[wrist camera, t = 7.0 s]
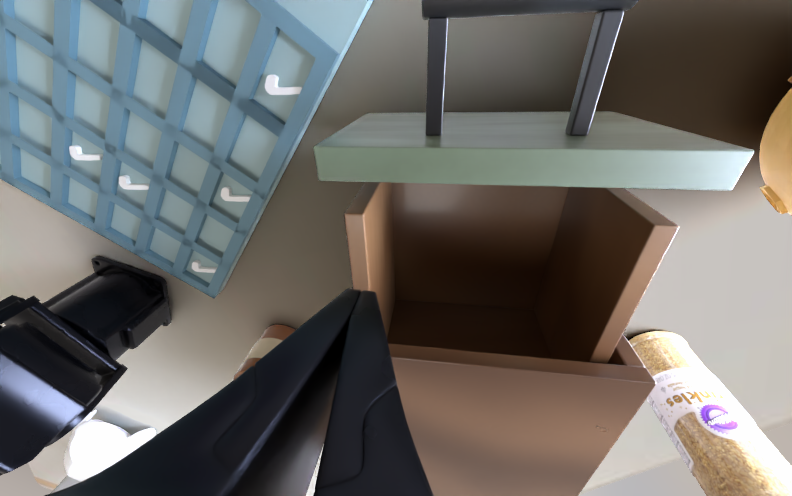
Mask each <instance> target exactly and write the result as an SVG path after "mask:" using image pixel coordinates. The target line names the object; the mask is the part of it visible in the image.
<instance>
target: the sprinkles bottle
mask: <svg viewBox="0 0 792 496" xmlns="http://www.w3.org/2000/svg"><path fill="white" fill-rule="evenodd" d="M628 342H629V343H630V345H631V346H632V348H633V349H634V351H635V352H636V354H637V355H638V357H639V358H640V360H641V361H642V363H643V364H644V366H645V368H647V370H648V371H649V373H650V374H651V376H652V377H653V379H654V380H655V382H656V385H655V387H654V388H653V390H652V391H651V392H650V394H649V395H648V397H647V398H646V399H647V400H648V402H649V404H650V405H651V407H652V409H653V410H654V412H655V414H656V415H657V417H658V418H659V420H660V422H661V423H662V425H663V427H664V428H665V430H666V432H667V433H668V435H669V437H670V438H671V440H672V441H673V443H674V445H675V446H676V448H677V450H678V451H679V453H680V455H681V456H682V458H683V460H684V461H685V463H686V465H687V466H688V468H689V470H690V471H691V473H692V474H693V476H694V477H696V479H697V481H698V483H699V484H700V486H701V488H702V489H703V490H704V492H705V494H706V495H707V496H792V467H791V466H790V464H789V463H788V462H787V461H786V460H785V459H784V457H783V456H782V455H781V454H780V453H779V451H778V450H777V449H776V448H775V447H774V446H773V444H772V443H771V442H770V441H769V440H768V439H767V437H766V436H765V435H764V434H763V433H762V432H761V430H760V429H759V428H758V427H757V426H756V424H755V422H754V421H753V419H752V418H751V417H750V416H749V414H748V413H747V412H746V411H745V410H744V409H743V408H742V406H741V405H740V404H739V403H738V402H737V401H736V399H735V398H734V397H733V396H732V395H731V394H730V392H729V391H728V390H727V389H726V388H725V387H724V386H723V384H722V383H721V382H720V381H719V380H718V379H717V377H716V376H715V375H713V374H712V373H710V371H709V370H708V369H707V368H706V367H705V365H704V364H703V363H702V362H701V361H700V359H699V358H698V357H697V356H696V355H695V354H694V352H693V351H692V350H691V349H690V348H689V346H688V343H687V342H686V341H685V340H684V339H683V338H682V337H681V336H679V335H677V334H675V333H671V332H664V331H654V332H647V333H643V334H640V335H638V336H636V337H634V338H632V339H630V340H629V341H628Z"/></svg>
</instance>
